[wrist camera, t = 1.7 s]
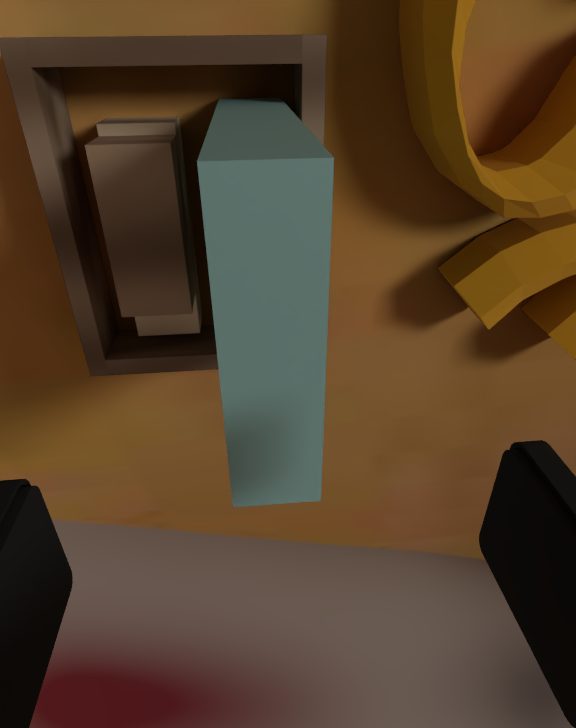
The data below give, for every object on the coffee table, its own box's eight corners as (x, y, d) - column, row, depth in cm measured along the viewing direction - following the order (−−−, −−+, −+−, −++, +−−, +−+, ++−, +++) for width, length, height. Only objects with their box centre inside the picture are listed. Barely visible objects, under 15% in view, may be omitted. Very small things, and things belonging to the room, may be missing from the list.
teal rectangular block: (219, 98, 24) (196, 161, 11) (279, 97, 24) (333, 157, 11) (234, 302, 30) (233, 507, 17) (283, 300, 30) (320, 500, 17)
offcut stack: (107, 117, 24) (81, 132, 20) (179, 116, 24) (168, 130, 20) (145, 316, 30) (130, 359, 26) (202, 313, 30) (197, 355, 26)
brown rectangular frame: (28, 39, 22) (-3, 37, 19) (315, 36, 23) (326, 34, 20) (104, 345, 31) (90, 376, 28) (310, 334, 32) (317, 363, 29)
